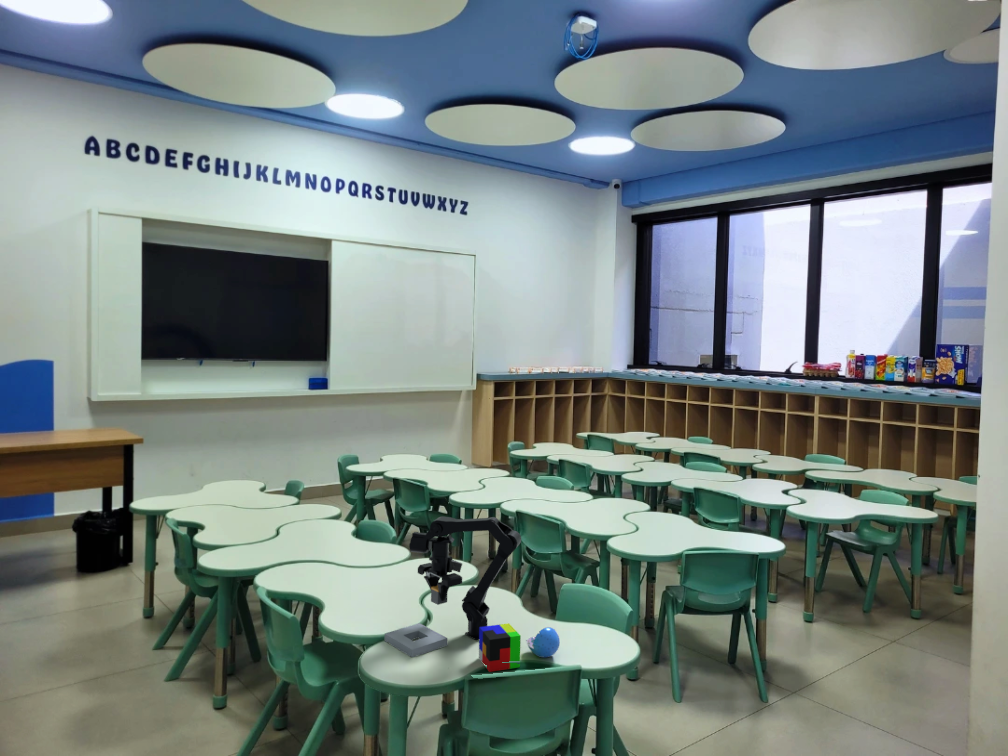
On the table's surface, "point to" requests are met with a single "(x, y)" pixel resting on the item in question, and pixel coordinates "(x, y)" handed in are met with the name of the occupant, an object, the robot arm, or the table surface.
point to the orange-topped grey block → (436, 596)
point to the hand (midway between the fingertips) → (439, 598)
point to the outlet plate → (425, 644)
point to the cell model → (544, 643)
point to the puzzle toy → (499, 646)
